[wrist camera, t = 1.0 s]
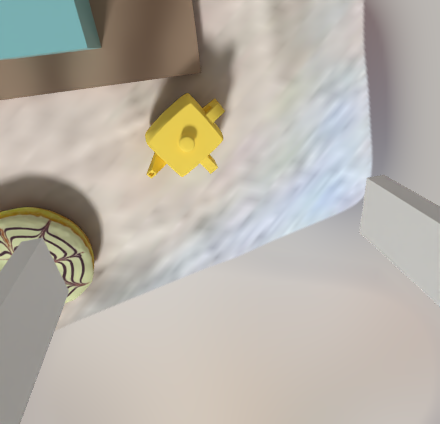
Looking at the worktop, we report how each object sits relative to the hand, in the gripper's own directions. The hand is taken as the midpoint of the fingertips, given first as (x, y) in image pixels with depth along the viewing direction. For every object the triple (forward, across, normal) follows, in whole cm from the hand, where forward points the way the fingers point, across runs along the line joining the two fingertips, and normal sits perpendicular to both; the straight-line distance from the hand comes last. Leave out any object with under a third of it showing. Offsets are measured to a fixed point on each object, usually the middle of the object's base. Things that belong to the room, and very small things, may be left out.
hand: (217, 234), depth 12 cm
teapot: (+17, 0, 0) cm, 17 cm away
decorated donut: (+17, -16, -9) cm, 25 cm away
